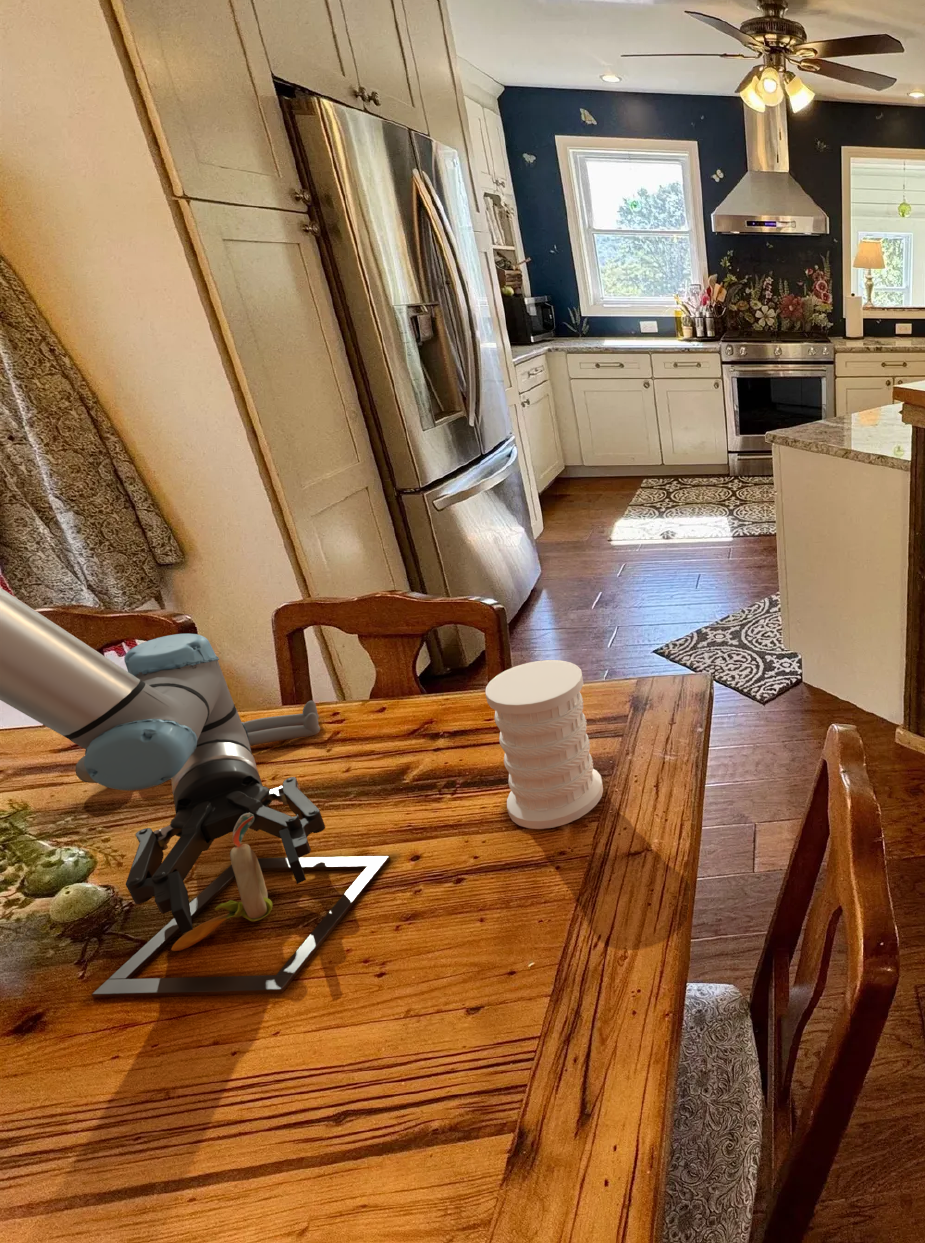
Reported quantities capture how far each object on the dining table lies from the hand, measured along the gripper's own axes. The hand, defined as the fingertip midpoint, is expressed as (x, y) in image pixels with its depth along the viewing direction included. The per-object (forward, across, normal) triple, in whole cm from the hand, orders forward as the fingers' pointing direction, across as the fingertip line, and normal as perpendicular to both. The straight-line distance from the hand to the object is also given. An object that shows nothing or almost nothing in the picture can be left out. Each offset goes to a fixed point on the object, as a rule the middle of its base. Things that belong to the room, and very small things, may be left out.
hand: (242, 895), depth 69 cm
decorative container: (-2, -30, -7) cm, 31 cm away
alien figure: (-45, +1, -7) cm, 46 cm away
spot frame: (-5, 0, -7) cm, 9 cm away
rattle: (-7, +2, -7) cm, 10 cm away
